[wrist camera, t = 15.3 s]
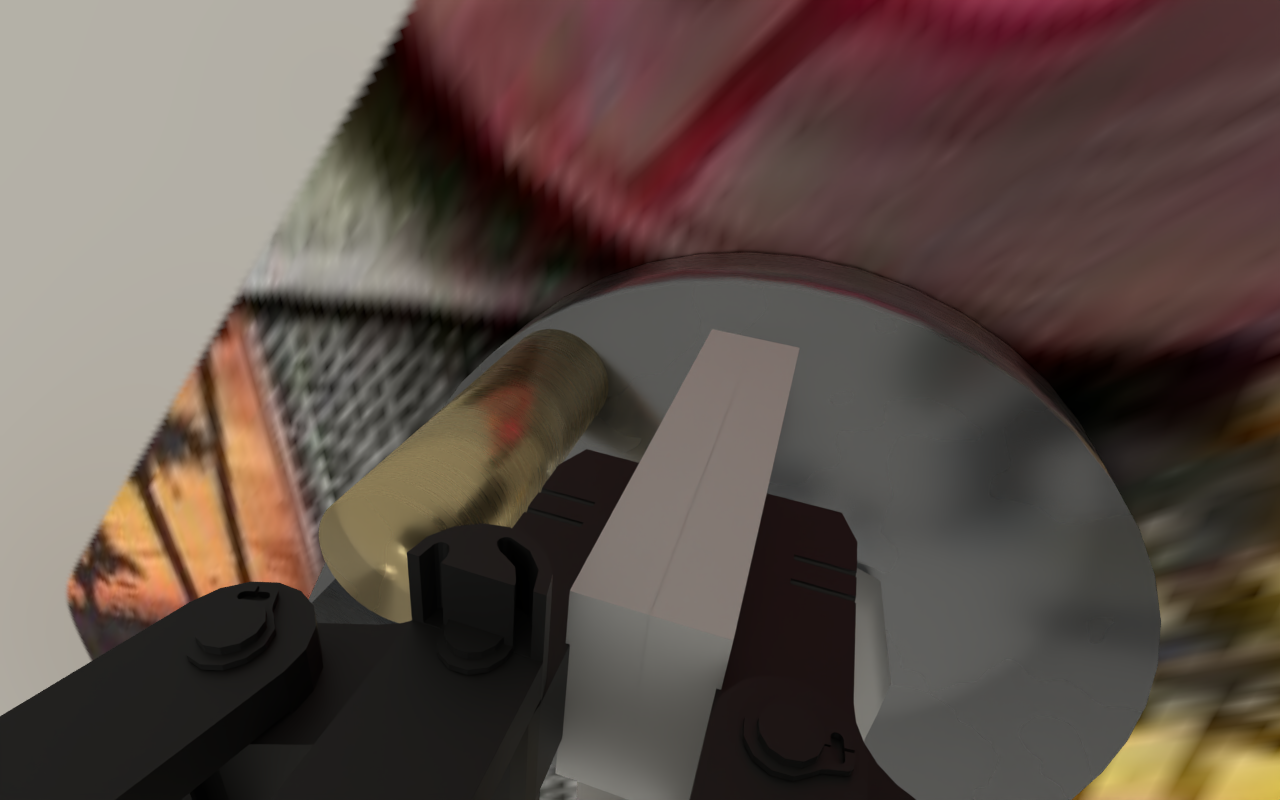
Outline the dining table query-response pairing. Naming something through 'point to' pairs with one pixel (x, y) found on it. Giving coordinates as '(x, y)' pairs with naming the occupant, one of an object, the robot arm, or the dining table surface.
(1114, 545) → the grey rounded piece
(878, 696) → the flask
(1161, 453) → the dining table surface
